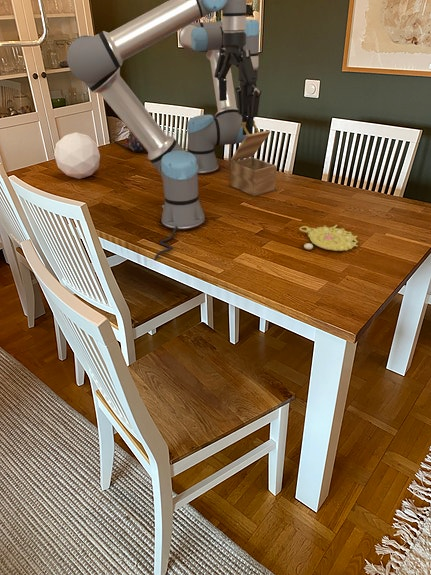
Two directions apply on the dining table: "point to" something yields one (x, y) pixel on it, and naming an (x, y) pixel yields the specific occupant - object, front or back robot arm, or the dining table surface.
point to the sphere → (77, 155)
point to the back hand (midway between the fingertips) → (247, 134)
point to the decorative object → (330, 238)
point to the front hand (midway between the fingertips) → (234, 103)
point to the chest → (253, 176)
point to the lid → (250, 143)
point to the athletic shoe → (134, 144)
